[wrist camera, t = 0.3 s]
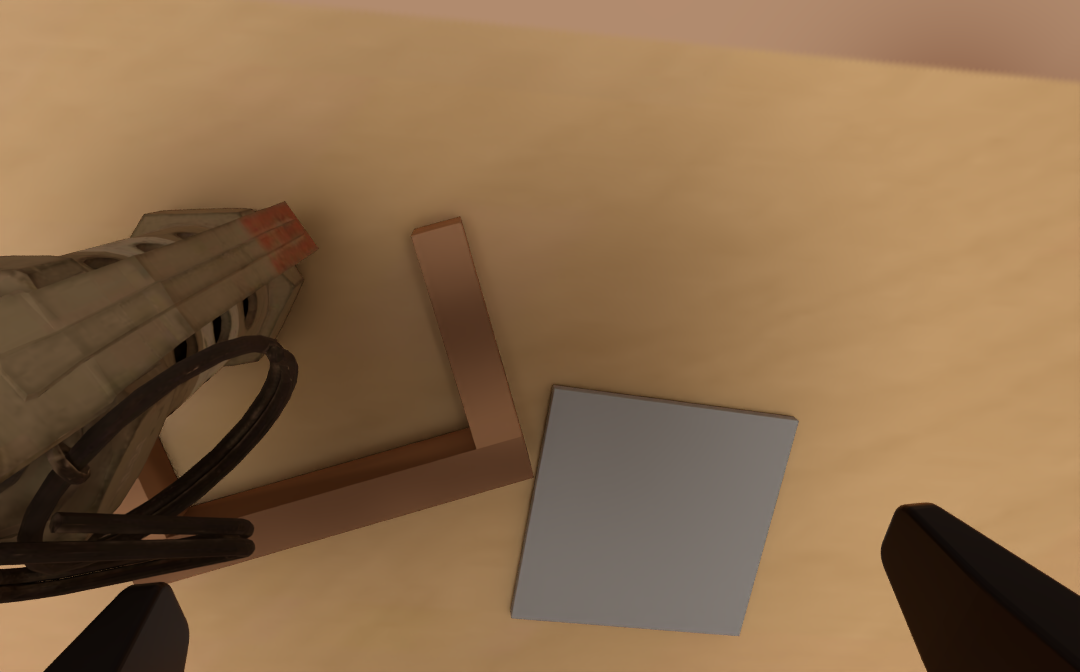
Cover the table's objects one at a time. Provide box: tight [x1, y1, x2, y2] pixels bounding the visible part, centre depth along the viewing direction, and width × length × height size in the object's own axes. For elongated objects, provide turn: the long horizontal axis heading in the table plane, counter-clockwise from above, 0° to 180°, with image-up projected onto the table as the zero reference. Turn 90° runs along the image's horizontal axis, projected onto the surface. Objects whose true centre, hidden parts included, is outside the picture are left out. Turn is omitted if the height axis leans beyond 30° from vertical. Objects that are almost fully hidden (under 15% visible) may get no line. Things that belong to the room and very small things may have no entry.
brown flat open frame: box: [113, 217, 534, 585], centre depth 22 cm, size 8×13×2 cm, turn 104°
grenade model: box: [0, 201, 319, 603], centre depth 15 cm, size 6×7×15 cm
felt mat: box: [510, 385, 799, 636], centre depth 26 cm, size 9×9×1 cm
